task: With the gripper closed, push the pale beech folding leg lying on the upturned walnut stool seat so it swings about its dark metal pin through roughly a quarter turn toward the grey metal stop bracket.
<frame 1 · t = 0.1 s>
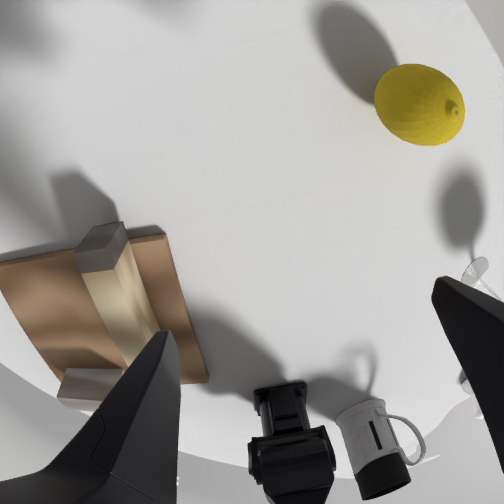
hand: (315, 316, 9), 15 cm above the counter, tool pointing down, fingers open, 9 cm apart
wineglass: (474, 274, 29), on the counter
leg: (134, 325, 23), point 3 cm above the counter, hinge at 0.0°
white rounded piece: (476, 372, 44), on the counter
seat: (97, 326, 27), on the counter
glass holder: (368, 403, 41), on the counter
lemon: (387, 99, 19), on the counter
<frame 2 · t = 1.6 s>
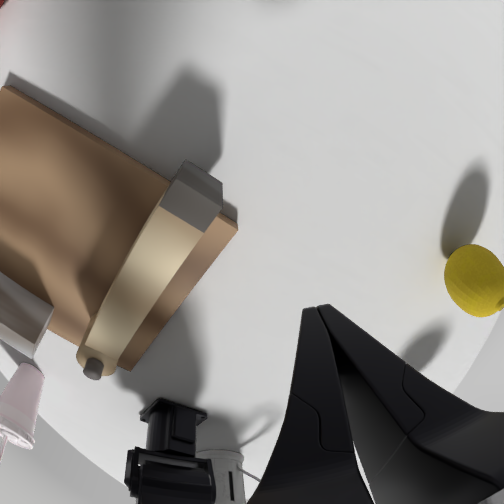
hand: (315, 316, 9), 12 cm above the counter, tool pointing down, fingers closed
smoothie: (32, 371, 28), on the counter
leg: (133, 287, 18), point 3 cm above the counter, hinge at 0.0°
seat: (64, 248, 20), on the counter
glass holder: (230, 454, 40), on the counter
lemon: (450, 254, 24), on the counter
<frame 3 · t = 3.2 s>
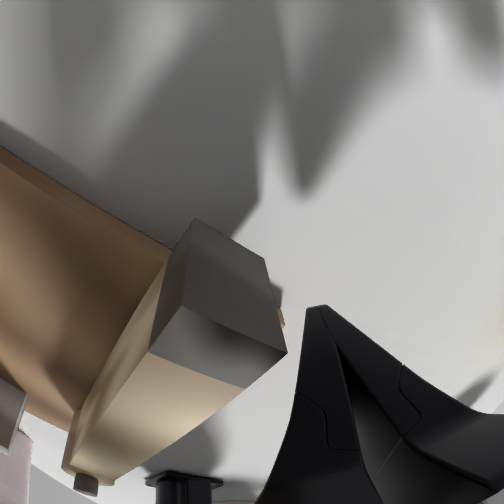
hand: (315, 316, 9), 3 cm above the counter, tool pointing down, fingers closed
smoothie: (18, 433, 20), on the counter
leg: (123, 410, 11), point 3 cm above the counter, hinge at 0.4°, touching gripper
seat: (23, 329, 12), on the counter
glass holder: (245, 502, 33), on the counter
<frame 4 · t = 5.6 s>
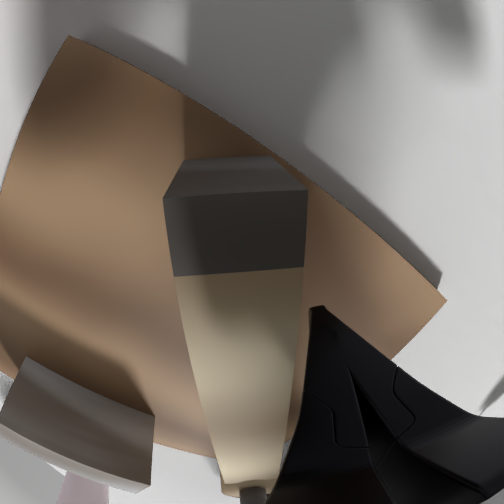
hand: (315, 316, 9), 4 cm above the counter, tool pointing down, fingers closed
smoothie: (90, 462, 20), on the counter
leg: (242, 394, 11), point 3 cm above the counter, hinge at 36.8°, touching gripper
seat: (184, 341, 13), on the counter
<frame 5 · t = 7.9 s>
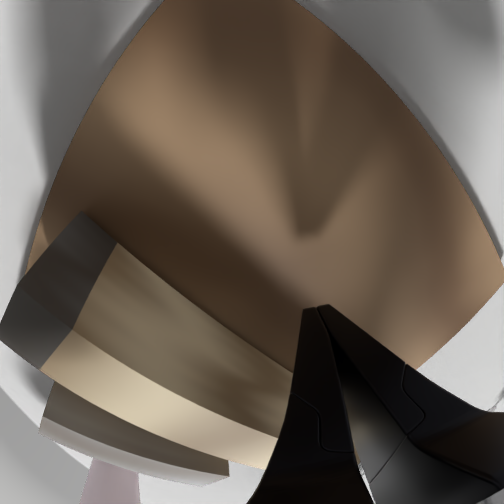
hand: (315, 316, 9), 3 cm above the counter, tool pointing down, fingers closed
smoothie: (117, 449, 20), on the counter
leg: (234, 401, 11), point 3 cm above the counter, hinge at 78.9°
seat: (279, 309, 13), on the counter
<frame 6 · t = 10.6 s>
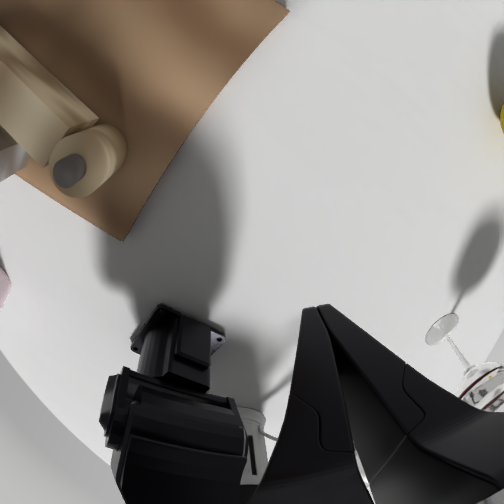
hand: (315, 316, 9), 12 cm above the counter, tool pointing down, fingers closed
wineglass: (441, 328, 30), on the counter
leg: (19, 88, 11), point 3 cm above the counter, hinge at 78.9°
seat: (72, 53, 13), on the counter
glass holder: (249, 415, 34), on the counter
lemon: (499, 115, 17), on the counter
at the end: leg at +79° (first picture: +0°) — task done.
